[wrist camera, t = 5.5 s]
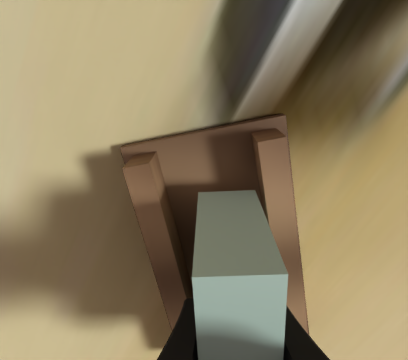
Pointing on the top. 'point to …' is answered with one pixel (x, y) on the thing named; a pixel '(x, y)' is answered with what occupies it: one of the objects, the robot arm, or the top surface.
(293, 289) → the floor track
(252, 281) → the pale teal block
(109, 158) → the top surface
